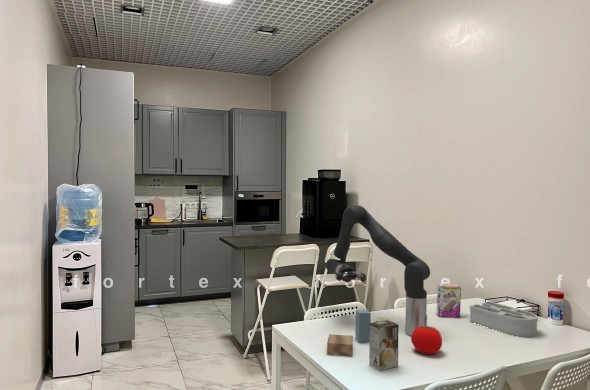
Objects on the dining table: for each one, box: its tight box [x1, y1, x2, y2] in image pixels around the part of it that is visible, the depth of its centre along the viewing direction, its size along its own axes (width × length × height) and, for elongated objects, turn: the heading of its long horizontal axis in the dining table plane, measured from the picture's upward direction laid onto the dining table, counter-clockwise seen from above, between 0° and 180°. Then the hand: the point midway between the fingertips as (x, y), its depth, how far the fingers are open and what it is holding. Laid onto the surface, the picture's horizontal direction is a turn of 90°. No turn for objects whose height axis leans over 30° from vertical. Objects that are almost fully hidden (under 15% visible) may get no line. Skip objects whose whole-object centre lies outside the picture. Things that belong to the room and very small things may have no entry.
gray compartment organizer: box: [469, 300, 539, 338], centre depth 204 cm, size 17×28×9 cm, turn 33°
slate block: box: [354, 308, 371, 344], centre depth 184 cm, size 5×5×13 cm
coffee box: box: [368, 319, 399, 372], centre depth 159 cm, size 9×6×16 cm
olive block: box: [375, 317, 390, 322], centre depth 173 cm, size 5×5×13 cm
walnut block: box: [326, 333, 354, 357], centre depth 173 cm, size 10×10×5 cm
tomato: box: [410, 325, 443, 355], centre depth 173 cm, size 11×12×10 cm
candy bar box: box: [436, 283, 462, 318], centre depth 220 cm, size 11×5×16 cm, turn 84°
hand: (355, 280), depth 194 cm, fingers open, 7 cm apart
